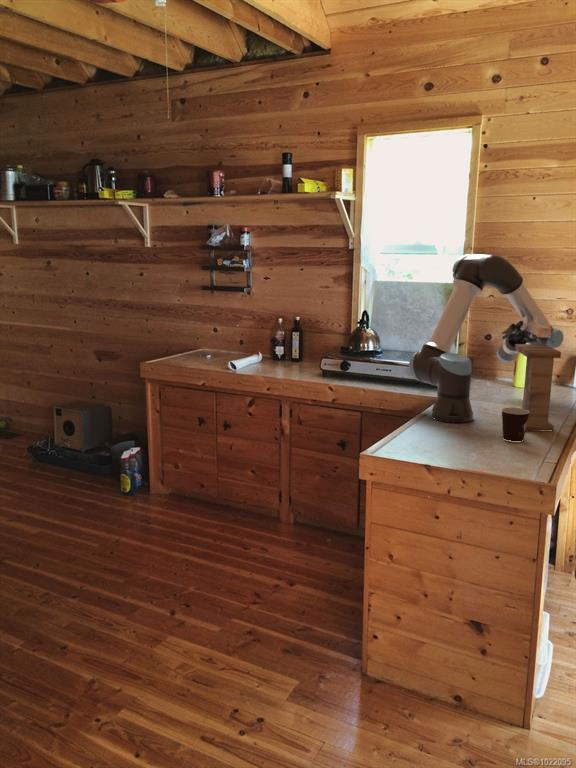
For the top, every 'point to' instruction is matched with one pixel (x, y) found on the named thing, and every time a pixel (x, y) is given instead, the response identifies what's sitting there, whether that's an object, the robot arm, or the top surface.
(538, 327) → the clear orange-capped tube
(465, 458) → the top surface
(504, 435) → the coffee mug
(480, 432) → the top surface
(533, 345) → the shelf post
